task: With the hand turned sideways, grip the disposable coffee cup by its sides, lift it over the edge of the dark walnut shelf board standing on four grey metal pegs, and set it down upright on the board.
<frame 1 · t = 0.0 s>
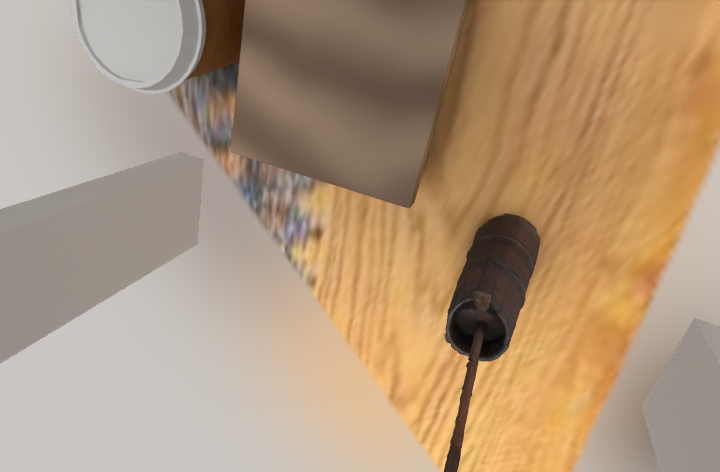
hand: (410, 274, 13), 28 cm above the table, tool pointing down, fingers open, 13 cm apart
disposable coffee cup: (230, 23, 42), on the table
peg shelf: (372, 59, 39), on the table
butter churn: (505, 229, 41), on the table
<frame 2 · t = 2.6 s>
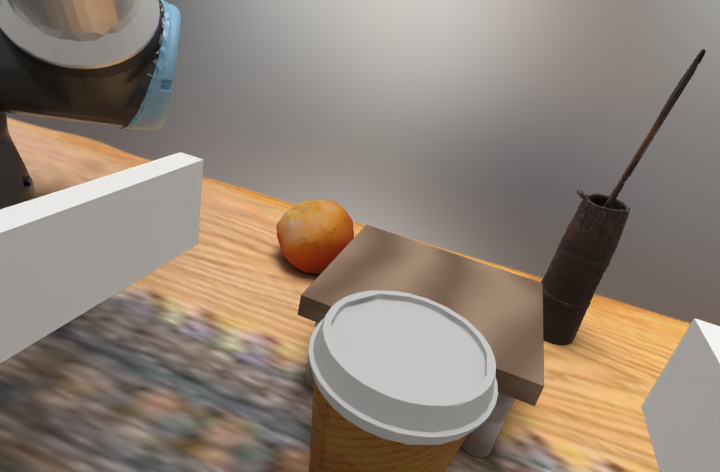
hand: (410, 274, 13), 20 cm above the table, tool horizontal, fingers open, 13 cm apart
fruit: (310, 263, 53), on the table
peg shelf: (410, 369, 41), on the table
butter churn: (536, 328, 51), on the table
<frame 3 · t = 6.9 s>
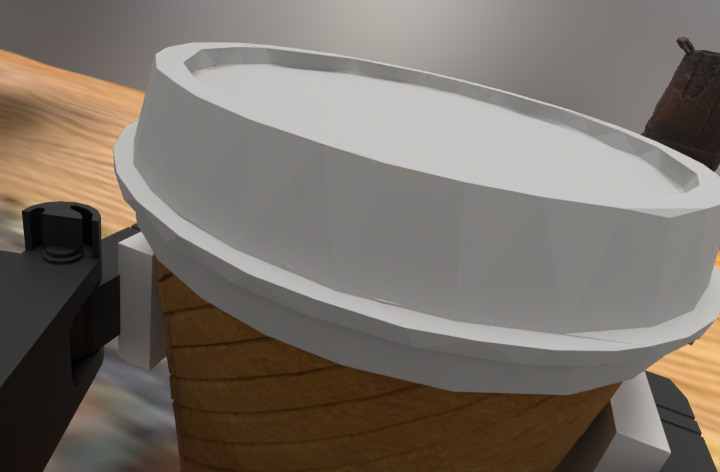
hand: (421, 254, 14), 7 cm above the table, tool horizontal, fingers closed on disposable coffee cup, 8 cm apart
butter churn: (599, 269, 35), on the table
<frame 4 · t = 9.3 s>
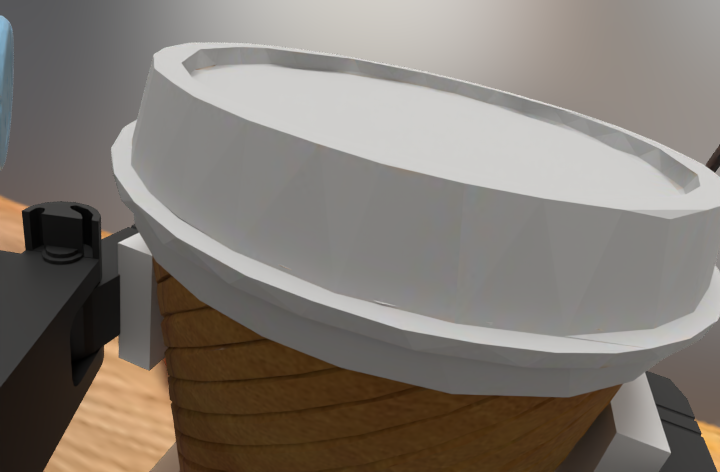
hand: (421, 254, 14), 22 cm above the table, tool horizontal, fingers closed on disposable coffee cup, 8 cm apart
when the fingers open (16 cm above the table, at t = 11.8 s): disposable coffee cup drops 1 cm, resting on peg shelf.
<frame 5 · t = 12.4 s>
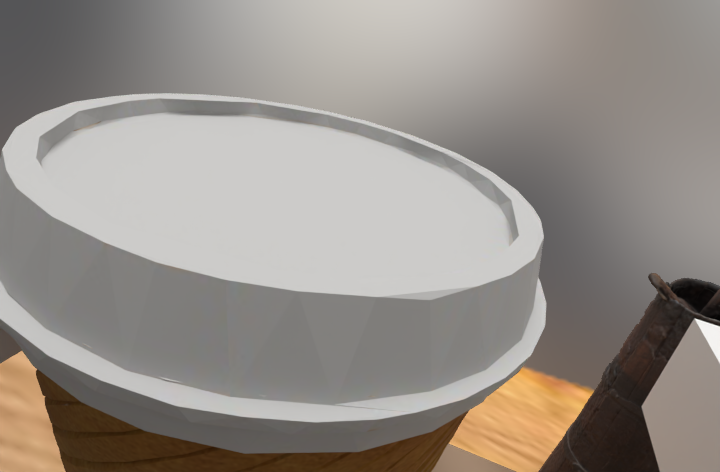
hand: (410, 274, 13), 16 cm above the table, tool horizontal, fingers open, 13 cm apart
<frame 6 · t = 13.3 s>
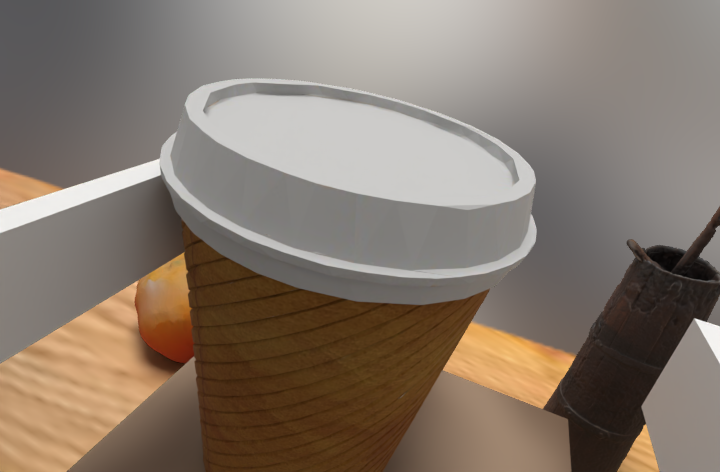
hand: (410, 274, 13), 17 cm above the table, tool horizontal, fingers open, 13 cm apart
disposable coffee cup: (292, 451, 18), point 8 cm above the table, touching gripper, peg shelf
fruit: (197, 341, 34), on the table
butter churn: (551, 453, 32), on the table
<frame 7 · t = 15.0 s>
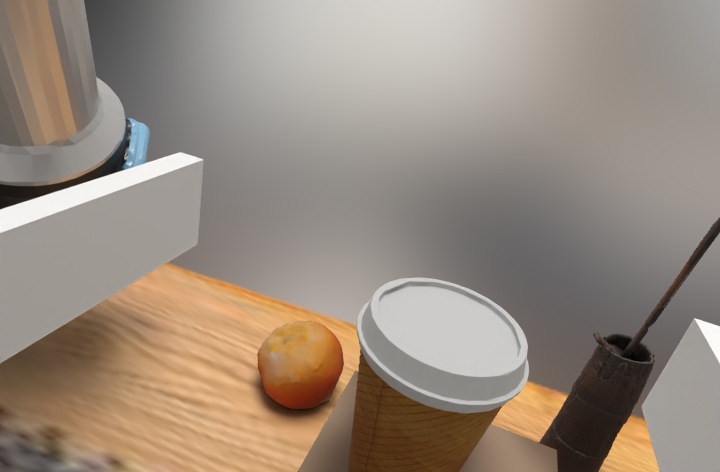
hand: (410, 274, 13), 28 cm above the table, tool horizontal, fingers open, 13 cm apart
fruit: (295, 390, 48), on the table
butter churn: (548, 469, 45), on the table
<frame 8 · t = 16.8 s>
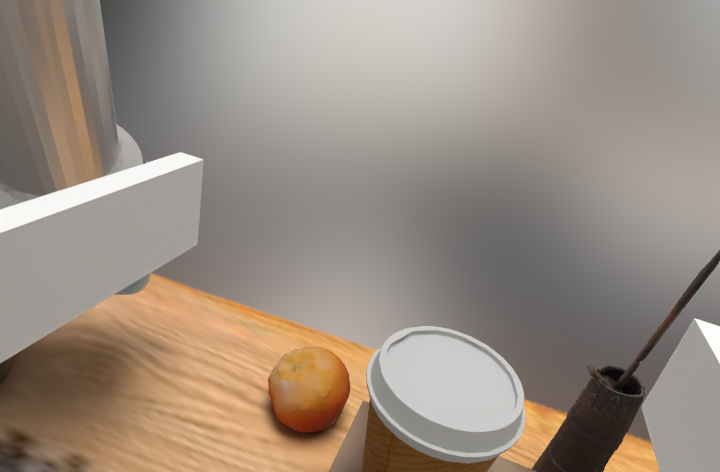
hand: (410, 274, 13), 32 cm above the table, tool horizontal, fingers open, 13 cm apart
fruit: (304, 413, 50), on the table
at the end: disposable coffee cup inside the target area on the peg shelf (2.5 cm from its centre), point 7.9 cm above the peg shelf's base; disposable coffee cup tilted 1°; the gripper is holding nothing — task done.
